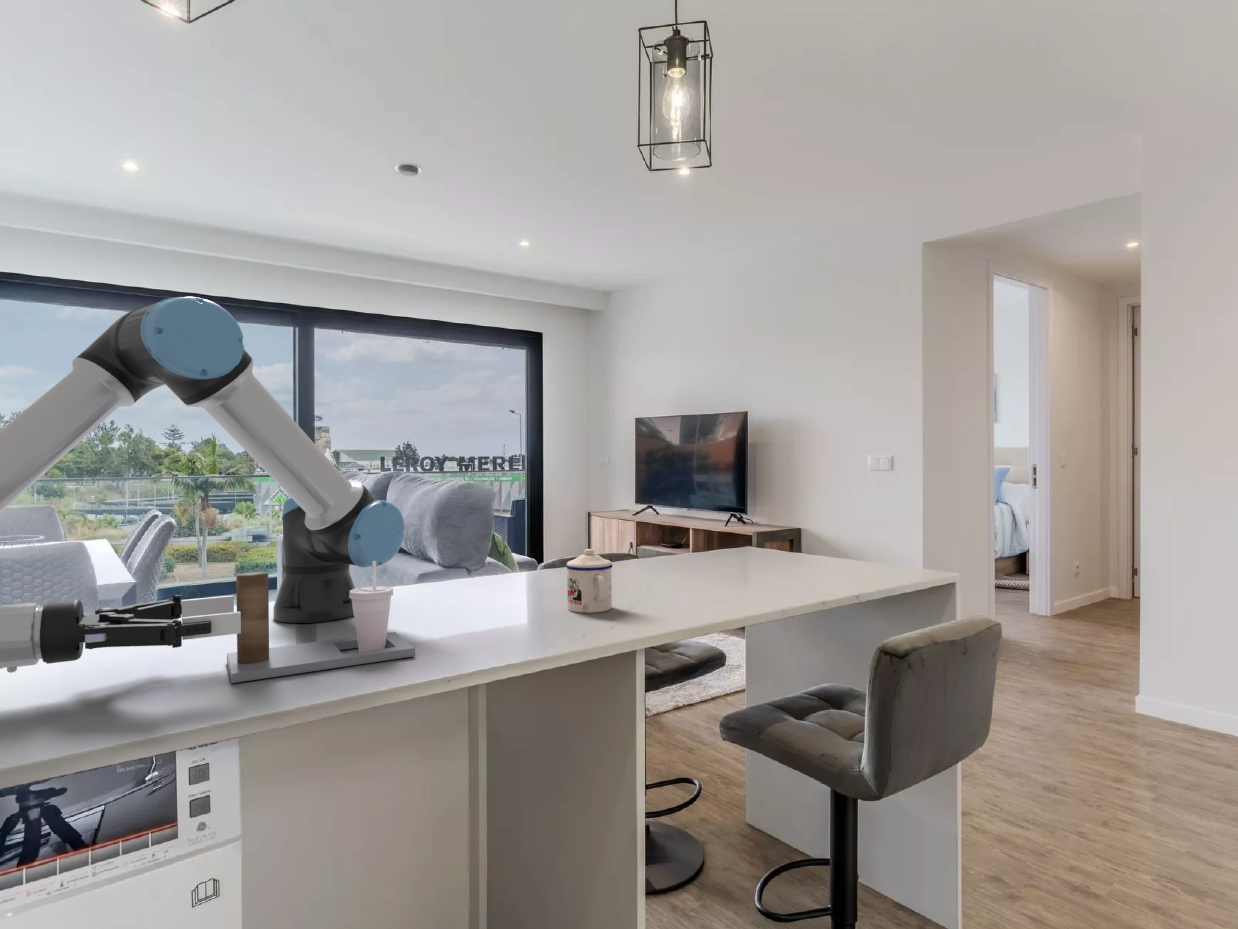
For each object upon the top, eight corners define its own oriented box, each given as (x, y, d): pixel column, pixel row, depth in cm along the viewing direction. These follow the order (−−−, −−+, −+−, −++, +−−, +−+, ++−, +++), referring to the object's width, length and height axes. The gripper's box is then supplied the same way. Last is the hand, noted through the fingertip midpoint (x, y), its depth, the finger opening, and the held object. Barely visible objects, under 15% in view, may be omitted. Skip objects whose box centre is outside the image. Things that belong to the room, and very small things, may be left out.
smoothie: (378, 659, 105) (377, 564, 105) (340, 657, 107) (339, 563, 107) (402, 648, 112) (401, 558, 112) (366, 646, 113) (365, 557, 113)
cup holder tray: (226, 661, 104) (225, 570, 104) (394, 639, 117) (393, 558, 117) (231, 683, 94) (230, 582, 94) (415, 656, 107) (414, 567, 107)
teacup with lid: (560, 606, 143) (559, 548, 143) (602, 602, 147) (602, 545, 147) (580, 618, 132) (580, 555, 132) (626, 614, 136) (625, 552, 136)
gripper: (56, 642, 99) (231, 623, 110) (23, 690, 78) (244, 661, 89) (56, 587, 99) (230, 574, 110) (23, 621, 78) (243, 600, 89)
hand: (237, 613), depth 100 cm, fingers open, 13 cm apart
